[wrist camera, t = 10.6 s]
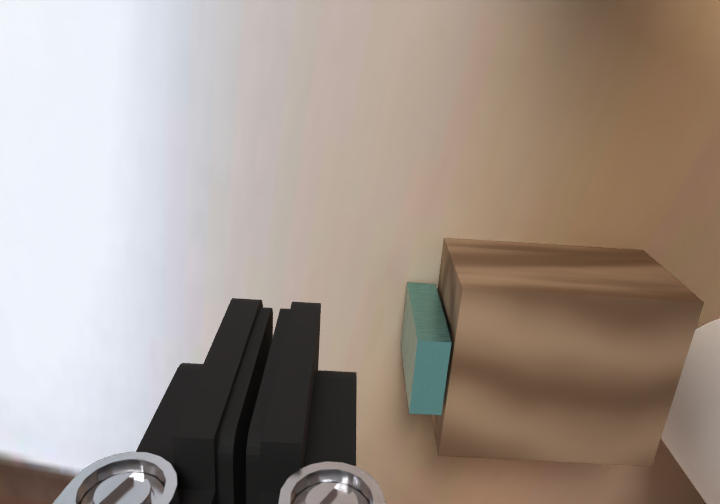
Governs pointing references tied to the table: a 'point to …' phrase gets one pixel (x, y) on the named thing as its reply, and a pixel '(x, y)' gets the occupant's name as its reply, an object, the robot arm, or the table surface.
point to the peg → (425, 349)
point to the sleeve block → (560, 352)
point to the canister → (698, 414)
